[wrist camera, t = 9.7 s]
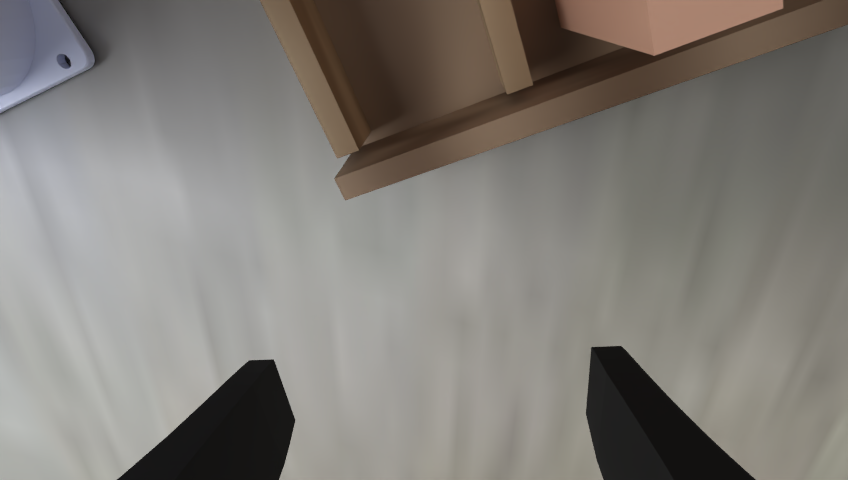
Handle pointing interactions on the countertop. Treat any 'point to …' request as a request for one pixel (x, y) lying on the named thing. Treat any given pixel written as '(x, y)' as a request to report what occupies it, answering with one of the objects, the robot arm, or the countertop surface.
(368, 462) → the countertop surface
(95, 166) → the countertop surface
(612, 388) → the robot arm
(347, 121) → the wooden compartment tray
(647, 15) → the pink cardboard carton
